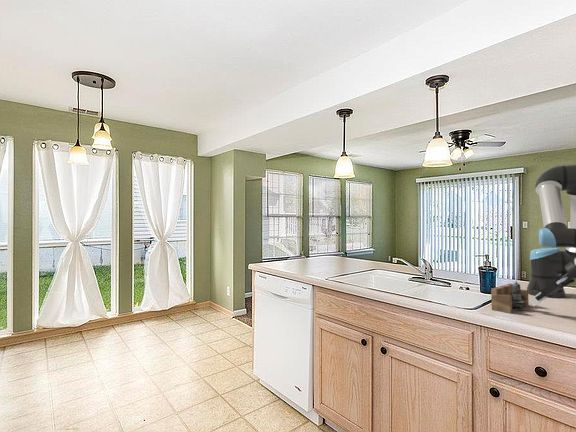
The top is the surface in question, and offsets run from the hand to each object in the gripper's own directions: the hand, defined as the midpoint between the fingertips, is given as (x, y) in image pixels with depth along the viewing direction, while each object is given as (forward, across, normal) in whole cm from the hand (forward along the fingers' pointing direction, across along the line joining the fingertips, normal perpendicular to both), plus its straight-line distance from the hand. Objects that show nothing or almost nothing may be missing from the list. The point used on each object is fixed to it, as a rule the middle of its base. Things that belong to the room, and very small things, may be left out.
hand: (531, 303), depth 133 cm
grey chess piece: (+7, 0, +1) cm, 7 cm away
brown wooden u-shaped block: (+8, 0, +3) cm, 9 cm away
